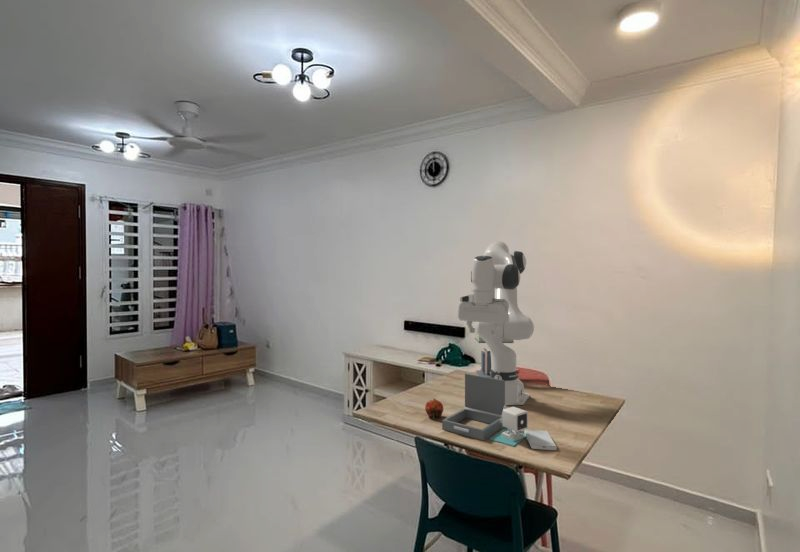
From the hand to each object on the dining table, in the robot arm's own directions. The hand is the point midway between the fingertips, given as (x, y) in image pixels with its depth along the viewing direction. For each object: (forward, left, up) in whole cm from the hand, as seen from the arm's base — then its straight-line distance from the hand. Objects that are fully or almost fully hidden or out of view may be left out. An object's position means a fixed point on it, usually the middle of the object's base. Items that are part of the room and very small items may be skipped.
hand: (482, 333), depth 165 cm
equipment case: (+5, -1, -35) cm, 36 cm away
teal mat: (+6, +13, -35) cm, 38 cm away
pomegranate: (+5, -19, -35) cm, 40 cm away
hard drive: (+3, +23, -35) cm, 42 cm away
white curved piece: (-65, -27, -35) cm, 79 cm away
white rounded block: (+6, +15, -35) cm, 39 cm away
